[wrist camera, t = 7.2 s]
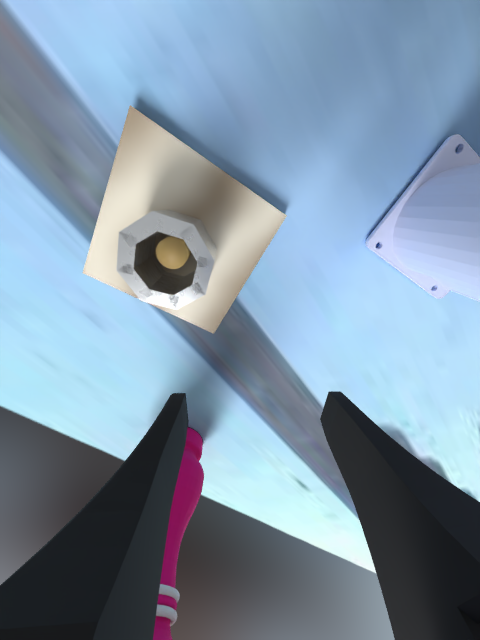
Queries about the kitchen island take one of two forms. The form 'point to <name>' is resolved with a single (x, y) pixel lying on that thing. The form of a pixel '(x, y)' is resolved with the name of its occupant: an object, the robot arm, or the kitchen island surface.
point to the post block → (187, 198)
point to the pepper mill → (178, 531)
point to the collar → (145, 268)
